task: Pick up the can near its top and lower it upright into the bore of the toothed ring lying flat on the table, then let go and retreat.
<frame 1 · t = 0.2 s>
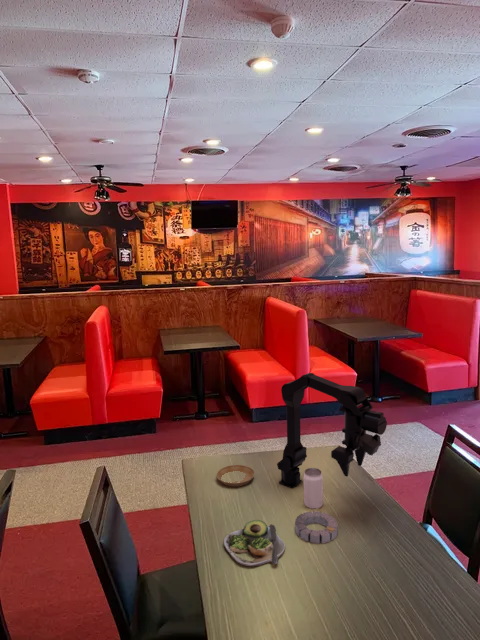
hand: (353, 470, 154), 14 cm above the table, fingers open, 9 cm apart
toothed ring: (316, 530, 146), on the table
can: (313, 504, 160), on the table
avocado toast plate: (254, 547, 139), on the table
plant saucer: (235, 480, 180), on the table
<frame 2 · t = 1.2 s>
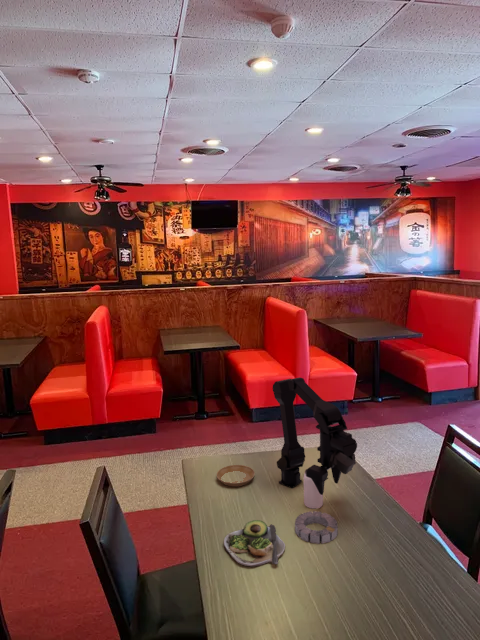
hand: (328, 488, 155), 8 cm above the table, fingers open, 9 cm apart
nothing on the table moved.
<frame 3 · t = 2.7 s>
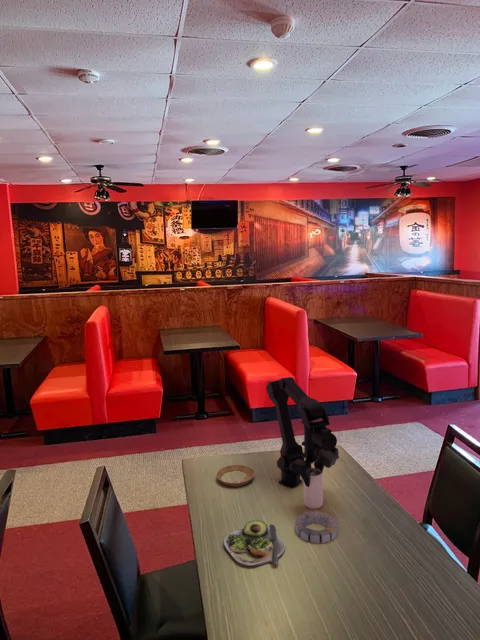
hand: (313, 482, 159), 8 cm above the table, fingers closed on can, 6 cm apart
can: (313, 504, 160), on the table, touching gripper
everything else where it was.
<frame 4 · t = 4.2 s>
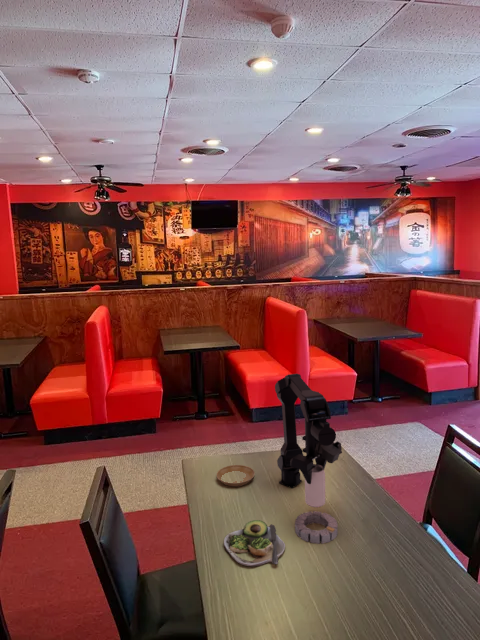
hand: (315, 479, 150), 13 cm above the table, fingers closed on can, 6 cm apart
can: (315, 503, 152), point 5 cm above the table, touching gripper
everything else where it was.
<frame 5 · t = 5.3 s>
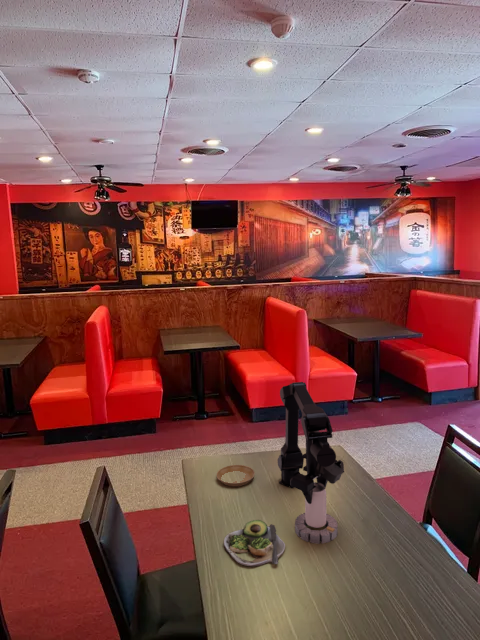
hand: (315, 498, 144), 11 cm above the table, fingers closed on can, 6 cm apart
can: (315, 522, 145), point 2 cm above the table, touching gripper
everything else where it was.
when the fingers open (9 cm above the table, at t = 6.1 s): can drops 1 cm, resting in toothed ring.
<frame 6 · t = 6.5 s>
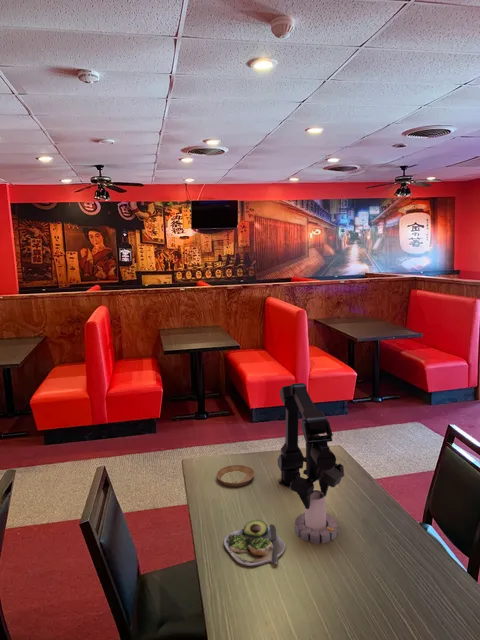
hand: (315, 502, 144), 9 cm above the table, fingers open, 9 cm apart
can: (315, 530, 146), resting in toothed ring
everything else where it was.
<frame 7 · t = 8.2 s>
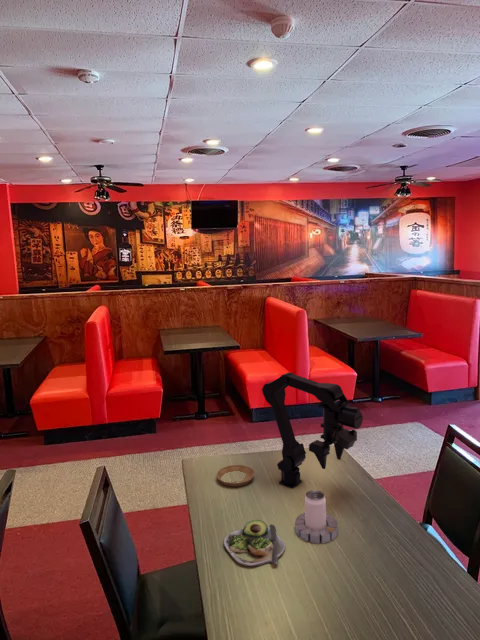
hand: (331, 464, 162), 13 cm above the table, fingers open, 9 cm apart
nothing on the table moved.
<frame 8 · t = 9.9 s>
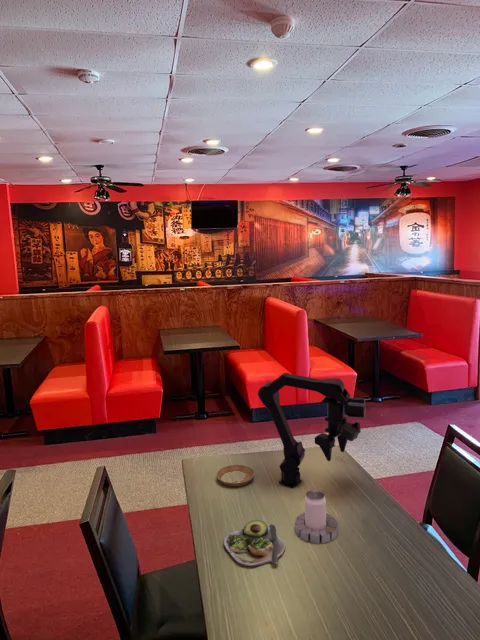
hand: (335, 456, 167), 13 cm above the table, fingers open, 9 cm apart
nothing on the table moved.
at the end: can 0.2 cm from the toothed ring (horizontally); can touching table; can tilted 0° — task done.
